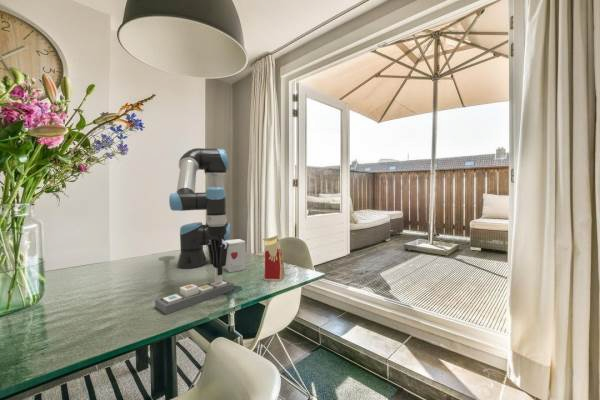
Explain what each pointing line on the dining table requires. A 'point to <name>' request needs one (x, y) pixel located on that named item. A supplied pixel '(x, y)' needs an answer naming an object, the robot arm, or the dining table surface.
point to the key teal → (172, 299)
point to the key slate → (218, 284)
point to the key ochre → (205, 288)
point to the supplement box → (235, 255)
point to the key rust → (189, 290)
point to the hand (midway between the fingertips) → (218, 282)
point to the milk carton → (273, 260)
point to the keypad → (192, 298)
